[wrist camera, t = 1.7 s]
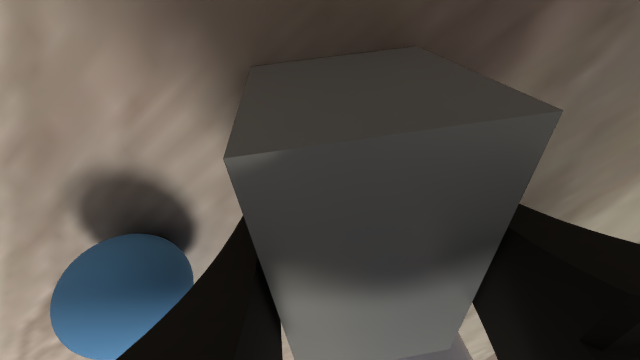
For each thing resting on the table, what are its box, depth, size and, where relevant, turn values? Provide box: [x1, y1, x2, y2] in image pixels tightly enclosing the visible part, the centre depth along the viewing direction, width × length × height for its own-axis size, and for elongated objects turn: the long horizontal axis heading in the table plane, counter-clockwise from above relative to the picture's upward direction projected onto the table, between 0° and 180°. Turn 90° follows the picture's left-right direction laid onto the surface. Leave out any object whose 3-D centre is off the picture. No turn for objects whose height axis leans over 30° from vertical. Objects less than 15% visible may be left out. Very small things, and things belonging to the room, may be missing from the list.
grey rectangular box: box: [223, 46, 563, 360], centre depth 10 cm, size 10×6×6 cm, turn 5°
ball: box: [50, 234, 193, 360], centre depth 12 cm, size 5×5×5 cm
